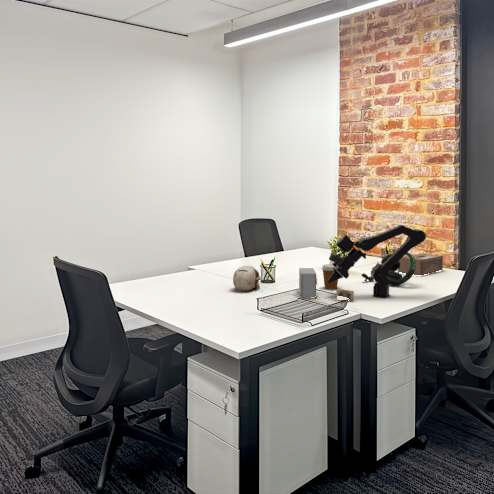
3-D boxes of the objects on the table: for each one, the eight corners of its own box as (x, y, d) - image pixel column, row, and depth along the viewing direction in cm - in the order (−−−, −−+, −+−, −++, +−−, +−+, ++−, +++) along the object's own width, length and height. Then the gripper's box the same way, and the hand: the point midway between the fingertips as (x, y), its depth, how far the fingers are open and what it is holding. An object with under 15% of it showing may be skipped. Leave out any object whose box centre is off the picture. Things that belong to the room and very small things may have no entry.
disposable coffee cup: (325, 290, 268) (325, 267, 267) (319, 287, 277) (319, 264, 276) (342, 289, 270) (343, 266, 268) (336, 286, 279) (336, 263, 278)
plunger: (316, 283, 256) (316, 277, 255) (317, 285, 253) (317, 278, 252) (304, 283, 256) (304, 277, 256) (305, 285, 253) (305, 278, 252)
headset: (377, 297, 290) (421, 279, 270) (360, 289, 283) (404, 270, 263) (375, 269, 300) (417, 249, 280) (358, 261, 293) (401, 240, 273)
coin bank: (256, 284, 284) (256, 260, 281) (266, 294, 268) (266, 269, 264) (228, 287, 280) (227, 263, 277) (236, 297, 264) (235, 272, 260)
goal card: (353, 301, 244) (353, 290, 243) (352, 301, 242) (352, 291, 242) (336, 299, 247) (337, 289, 247) (336, 300, 246) (336, 289, 245)
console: (314, 291, 266) (314, 268, 265) (317, 298, 250) (317, 273, 249) (299, 291, 267) (299, 268, 265) (301, 298, 251) (301, 273, 249)
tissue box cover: (419, 277, 304) (420, 260, 303) (398, 274, 315) (398, 257, 314) (442, 271, 321) (442, 255, 320) (421, 269, 332) (421, 253, 331)
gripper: (336, 245, 261) (314, 267, 263) (341, 250, 242) (318, 274, 244) (352, 260, 262) (330, 282, 263) (358, 266, 243) (335, 290, 245)
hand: (328, 282), depth 254 cm, fingers closed
